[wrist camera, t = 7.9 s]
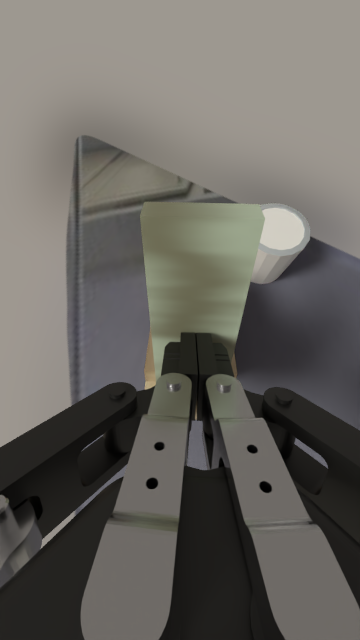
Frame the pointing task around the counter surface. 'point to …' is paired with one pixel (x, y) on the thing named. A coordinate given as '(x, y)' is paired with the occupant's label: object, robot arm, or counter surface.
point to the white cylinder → (279, 241)
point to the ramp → (197, 272)
